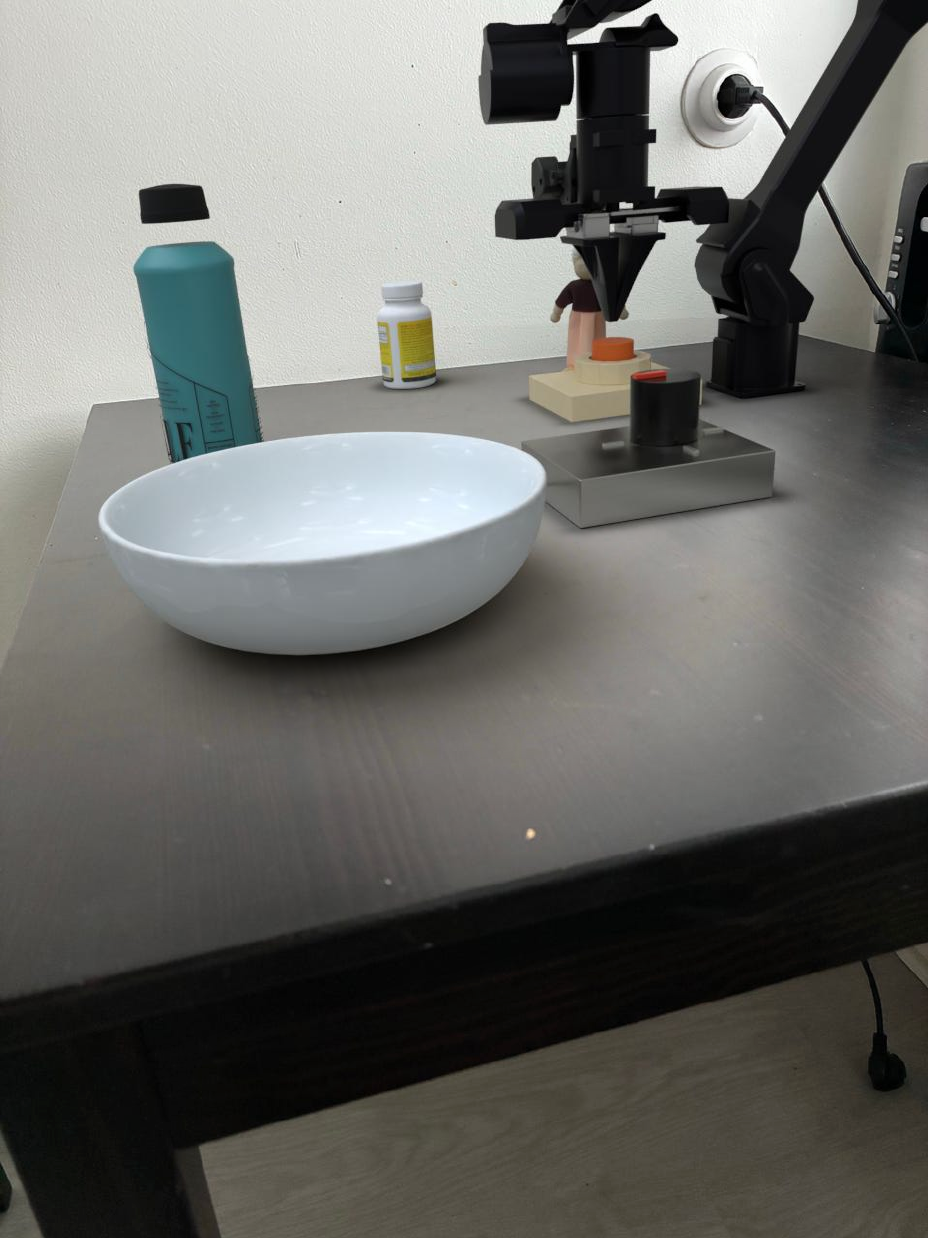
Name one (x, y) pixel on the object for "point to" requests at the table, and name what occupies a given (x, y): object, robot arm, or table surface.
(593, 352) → the power button
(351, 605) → the serving bowl
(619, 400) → the coffee base
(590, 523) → the dial panel
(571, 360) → the grandmother figurine
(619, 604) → the table surface
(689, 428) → the brew dial
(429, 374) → the supplement bottle
